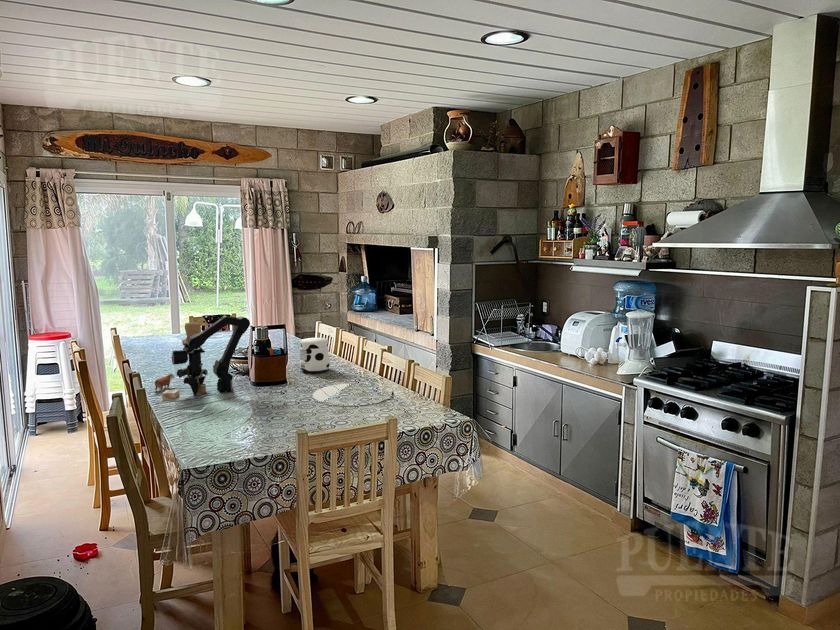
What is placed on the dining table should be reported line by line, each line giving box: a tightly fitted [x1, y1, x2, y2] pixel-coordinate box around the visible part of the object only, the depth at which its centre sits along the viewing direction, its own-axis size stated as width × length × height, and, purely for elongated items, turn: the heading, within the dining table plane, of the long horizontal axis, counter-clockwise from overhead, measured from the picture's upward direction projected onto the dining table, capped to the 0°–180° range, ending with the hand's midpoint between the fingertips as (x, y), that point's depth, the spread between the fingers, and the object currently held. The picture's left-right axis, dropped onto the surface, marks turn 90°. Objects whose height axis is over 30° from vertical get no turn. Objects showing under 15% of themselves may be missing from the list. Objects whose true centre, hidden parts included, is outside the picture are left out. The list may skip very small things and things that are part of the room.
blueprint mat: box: [158, 394, 191, 402], centre depth 291 cm, size 12×10×1 cm
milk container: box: [299, 337, 331, 373], centre depth 347 cm, size 17×17×18 cm
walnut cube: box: [195, 383, 207, 396], centre depth 298 cm, size 5×5×5 cm
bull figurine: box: [154, 372, 176, 392], centre depth 306 cm, size 4×13×8 cm, turn 164°
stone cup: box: [181, 322, 201, 345], centre depth 432 cm, size 15×12×15 cm
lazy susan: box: [312, 381, 392, 402], centre depth 298 cm, size 40×39×3 cm
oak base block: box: [161, 389, 181, 400], centre depth 290 cm, size 6×6×3 cm
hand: (196, 393), depth 298 cm, fingers closed on walnut cube, 5 cm apart
